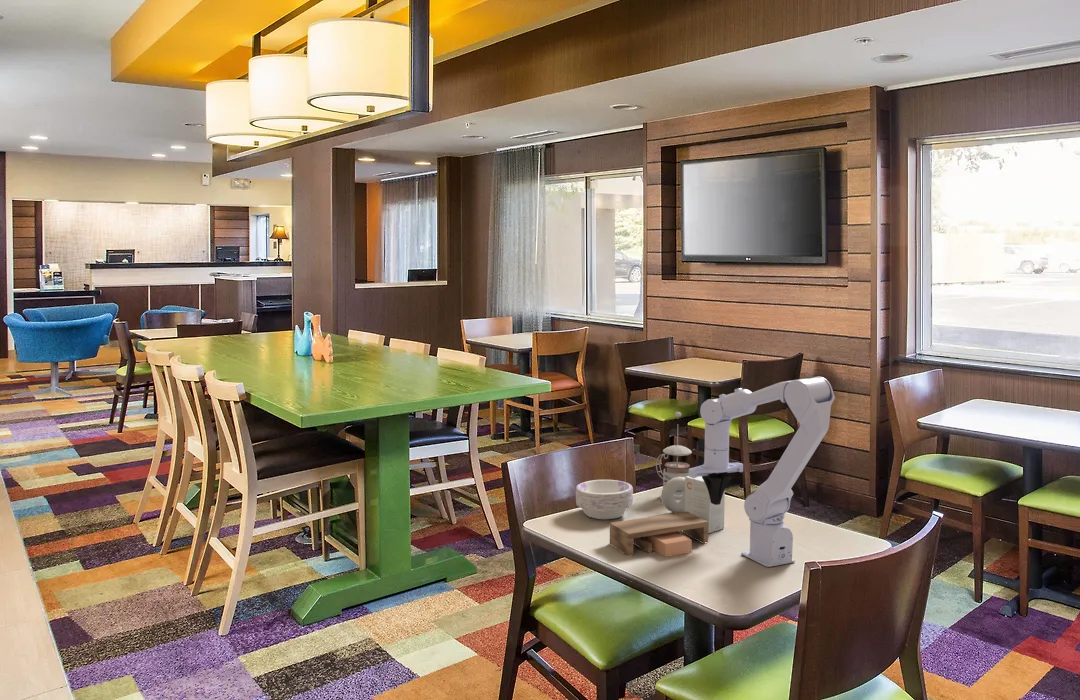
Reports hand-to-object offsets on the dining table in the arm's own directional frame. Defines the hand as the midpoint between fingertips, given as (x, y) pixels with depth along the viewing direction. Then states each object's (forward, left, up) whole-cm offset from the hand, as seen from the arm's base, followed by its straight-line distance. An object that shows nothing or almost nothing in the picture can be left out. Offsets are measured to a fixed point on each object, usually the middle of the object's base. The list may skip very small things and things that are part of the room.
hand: (715, 503), depth 205 cm
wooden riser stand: (+4, +13, -9) cm, 17 cm away
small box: (+10, -4, -10) cm, 14 cm away
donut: (+23, -5, -10) cm, 25 cm away
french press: (+36, -12, -10) cm, 39 cm away
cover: (0, +13, -9) cm, 16 cm away
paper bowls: (+30, +14, -10) cm, 34 cm away
